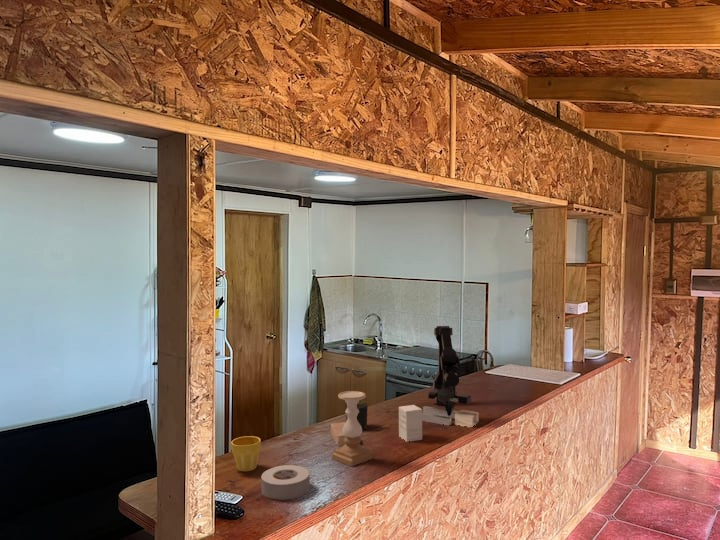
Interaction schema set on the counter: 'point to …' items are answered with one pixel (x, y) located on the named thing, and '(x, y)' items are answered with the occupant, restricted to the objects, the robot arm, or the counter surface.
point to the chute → (437, 415)
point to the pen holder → (361, 415)
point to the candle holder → (352, 433)
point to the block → (466, 418)
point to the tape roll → (285, 482)
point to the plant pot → (246, 452)
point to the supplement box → (410, 423)
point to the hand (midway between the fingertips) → (449, 415)
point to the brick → (338, 433)
